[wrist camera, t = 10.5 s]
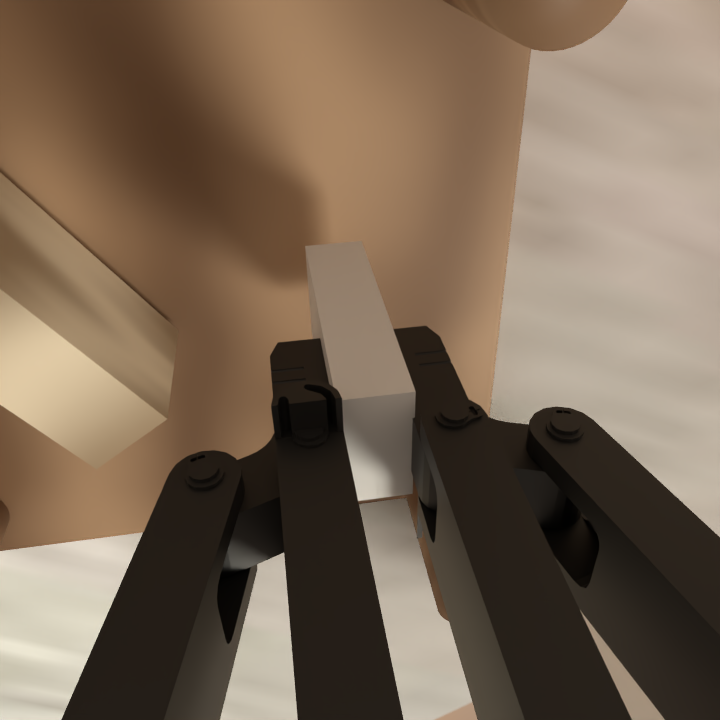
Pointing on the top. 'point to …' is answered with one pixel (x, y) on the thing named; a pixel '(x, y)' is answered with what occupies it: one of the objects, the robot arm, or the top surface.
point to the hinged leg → (76, 339)
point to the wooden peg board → (263, 196)
